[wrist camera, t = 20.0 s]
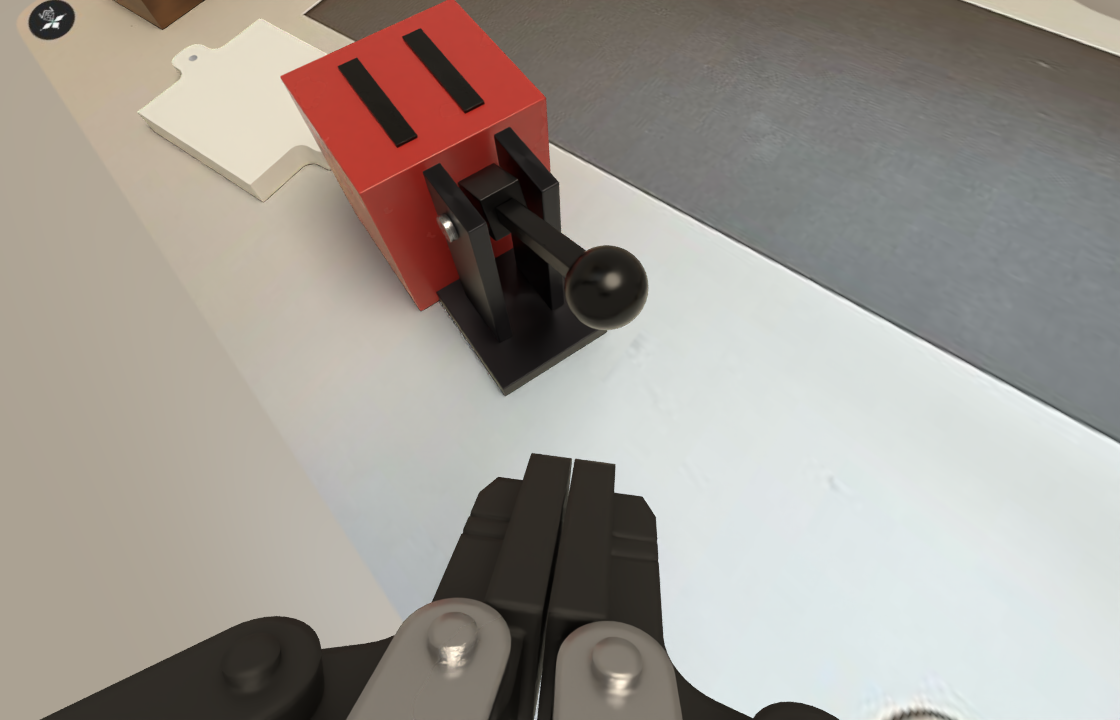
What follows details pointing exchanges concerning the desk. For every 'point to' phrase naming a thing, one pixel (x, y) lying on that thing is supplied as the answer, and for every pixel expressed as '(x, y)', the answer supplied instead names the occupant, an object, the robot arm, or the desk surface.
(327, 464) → the desk surface
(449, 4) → the toaster
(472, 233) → the lever bracket
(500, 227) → the toaster lever
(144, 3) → the dial panel
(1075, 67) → the desk surface
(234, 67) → the mounting plate
